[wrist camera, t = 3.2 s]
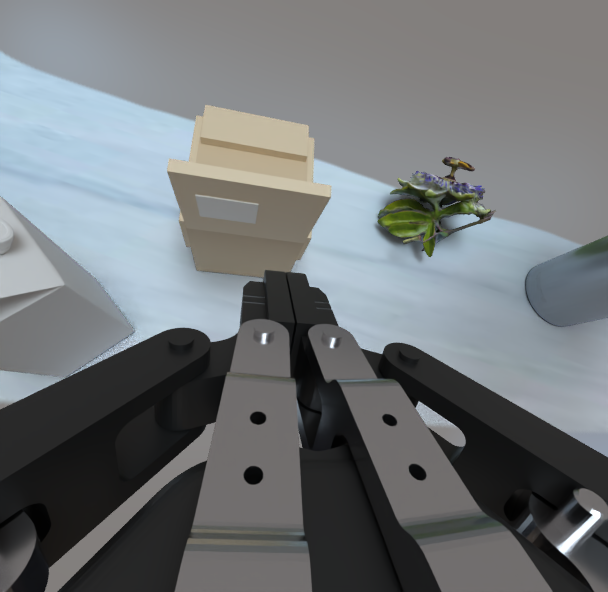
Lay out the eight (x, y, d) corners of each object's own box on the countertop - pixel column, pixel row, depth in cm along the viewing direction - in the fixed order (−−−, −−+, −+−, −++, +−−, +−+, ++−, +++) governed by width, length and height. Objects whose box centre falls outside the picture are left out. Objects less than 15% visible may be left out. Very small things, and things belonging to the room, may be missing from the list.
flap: (331, 185, 20) (330, 198, 20) (304, 234, 28) (303, 244, 28) (169, 158, 18) (166, 172, 18) (187, 218, 26) (186, 229, 26)
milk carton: (65, 378, 30) (-166, 353, 13) (23, 319, 31) (-254, 216, 13) (136, 331, 33) (25, 256, 15) (95, 278, 33) (-57, 144, 16)
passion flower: (401, 220, 51) (481, 175, 44) (420, 281, 46) (513, 240, 39) (360, 185, 43) (449, 122, 36) (377, 253, 38) (484, 196, 31)
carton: (295, 191, 42) (316, 126, 31) (291, 280, 38) (313, 238, 28) (205, 176, 39) (196, 101, 29) (191, 269, 36) (176, 220, 26)
